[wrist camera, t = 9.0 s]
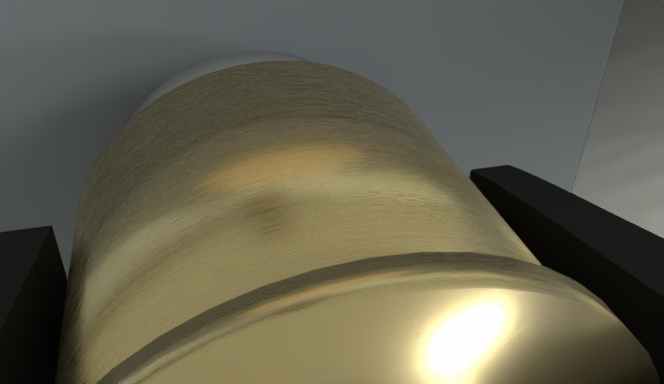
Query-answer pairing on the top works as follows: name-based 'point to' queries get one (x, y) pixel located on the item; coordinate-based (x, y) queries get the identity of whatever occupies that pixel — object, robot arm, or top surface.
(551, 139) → the post board
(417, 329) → the cap
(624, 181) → the top surface
